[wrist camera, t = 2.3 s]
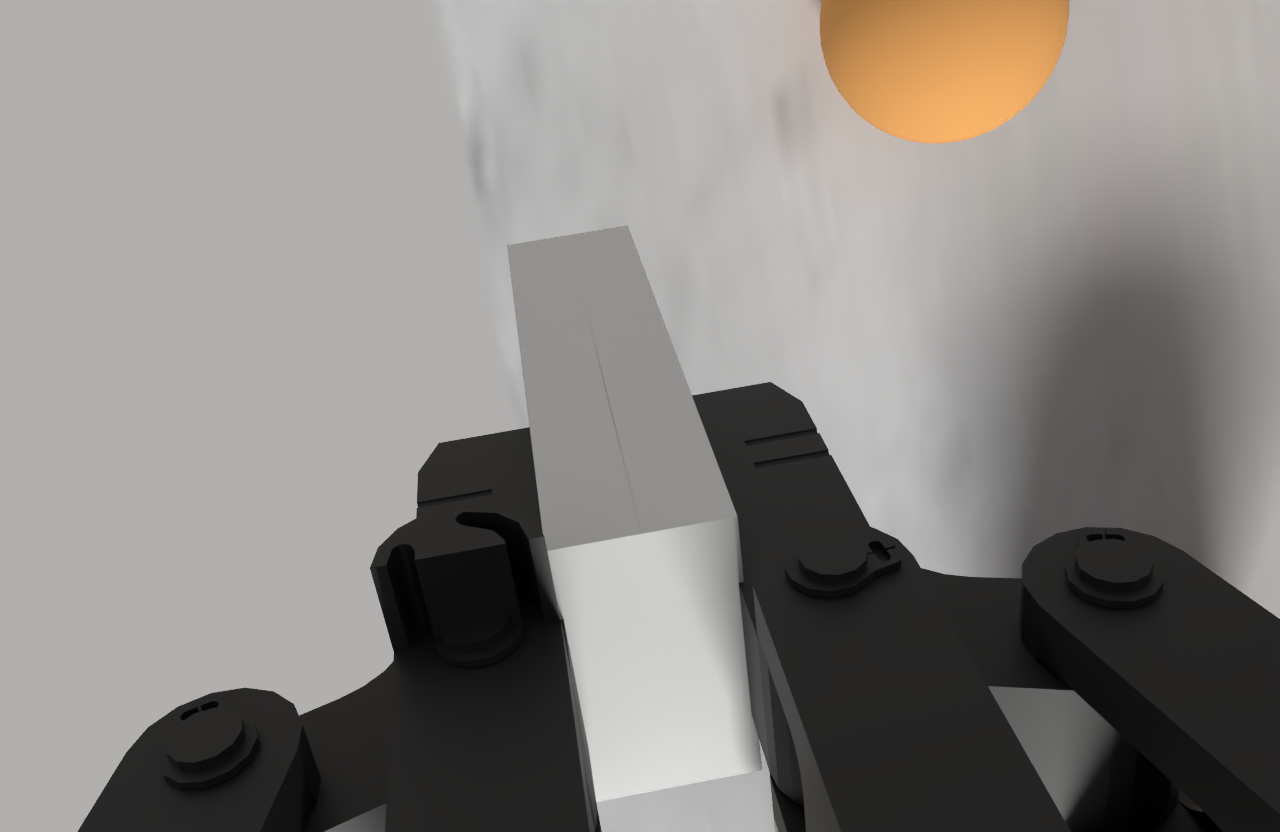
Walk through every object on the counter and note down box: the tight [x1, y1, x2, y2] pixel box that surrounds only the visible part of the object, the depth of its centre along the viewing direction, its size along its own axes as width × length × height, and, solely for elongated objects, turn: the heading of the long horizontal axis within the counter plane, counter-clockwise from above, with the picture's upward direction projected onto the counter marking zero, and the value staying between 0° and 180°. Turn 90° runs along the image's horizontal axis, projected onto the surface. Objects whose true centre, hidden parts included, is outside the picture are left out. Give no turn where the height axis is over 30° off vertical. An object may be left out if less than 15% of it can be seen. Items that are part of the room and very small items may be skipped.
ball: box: [820, 0, 1069, 143], centre depth 28 cm, size 6×6×6 cm
